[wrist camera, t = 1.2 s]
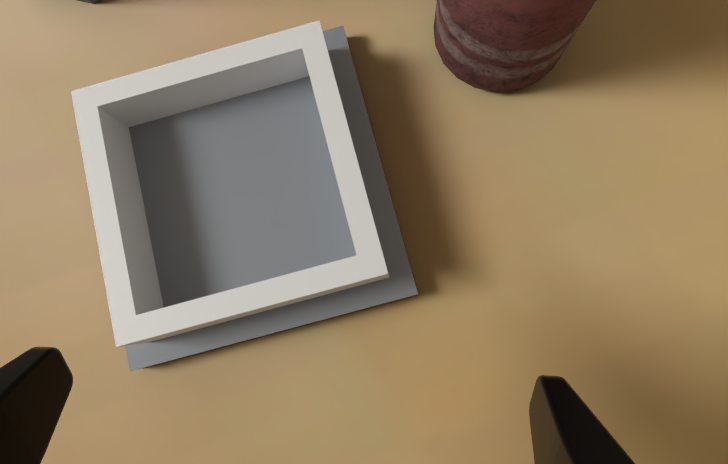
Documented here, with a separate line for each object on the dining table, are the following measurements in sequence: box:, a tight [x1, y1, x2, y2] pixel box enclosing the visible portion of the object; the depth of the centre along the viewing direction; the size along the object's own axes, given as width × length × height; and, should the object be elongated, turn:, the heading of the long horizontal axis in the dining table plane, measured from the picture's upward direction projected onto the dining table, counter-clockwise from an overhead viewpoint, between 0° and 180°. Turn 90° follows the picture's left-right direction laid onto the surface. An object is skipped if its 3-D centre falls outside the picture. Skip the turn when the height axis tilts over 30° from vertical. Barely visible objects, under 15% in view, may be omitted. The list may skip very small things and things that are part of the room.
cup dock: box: [71, 21, 418, 371], centre depth 22 cm, size 13×13×4 cm
